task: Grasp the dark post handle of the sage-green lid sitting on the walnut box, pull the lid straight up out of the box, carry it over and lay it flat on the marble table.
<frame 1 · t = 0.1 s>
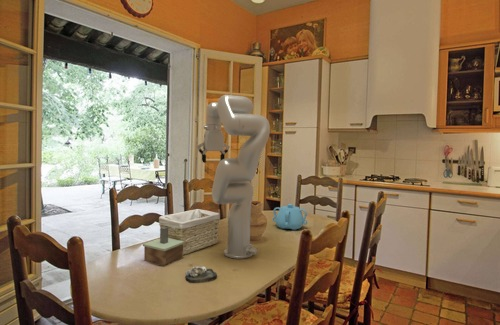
hand: (213, 162, 164), 37 cm above the table, tool pointing down, fingers open, 9 cm apart
storage basket: (189, 246, 146), on the table
box: (164, 259, 129), on the table
lid: (164, 244, 128), point 6 cm above the table, touching box
grey oval ornament: (201, 278, 113), on the table
decorative pot: (289, 228, 182), on the table
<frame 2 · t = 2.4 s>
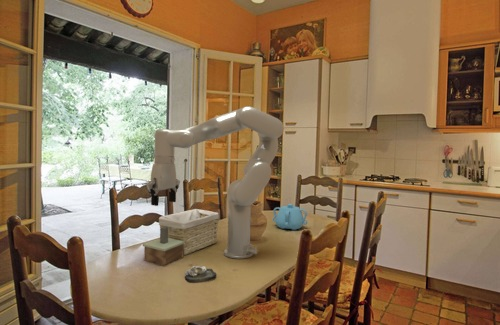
hand: (163, 203, 127), 23 cm above the table, tool pointing down, fingers open, 9 cm apart
nothing on the table moved.
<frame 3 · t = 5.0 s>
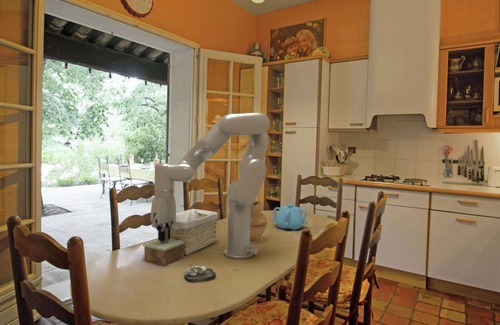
hand: (164, 239, 128), 8 cm above the table, tool pointing down, fingers closed on lid
lid: (164, 244, 128), point 6 cm above the table, touching gripper
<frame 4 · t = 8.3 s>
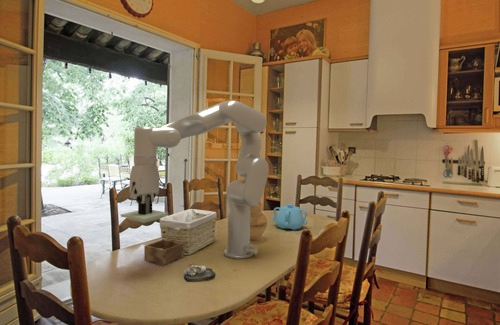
hand: (145, 213, 114), 22 cm above the table, tool pointing down, fingers closed on lid
lid: (144, 215, 114), point 21 cm above the table, touching gripper
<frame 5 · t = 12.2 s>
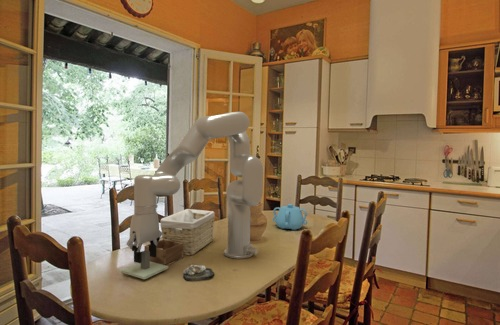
hand: (145, 258, 115), 5 cm above the table, tool pointing down, fingers open, 6 cm apart
lid: (145, 270, 115), point 1 cm above the table
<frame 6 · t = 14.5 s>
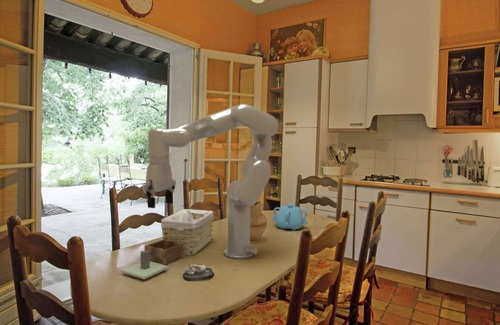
hand: (160, 205, 123), 23 cm above the table, tool pointing down, fingers open, 9 cm apart
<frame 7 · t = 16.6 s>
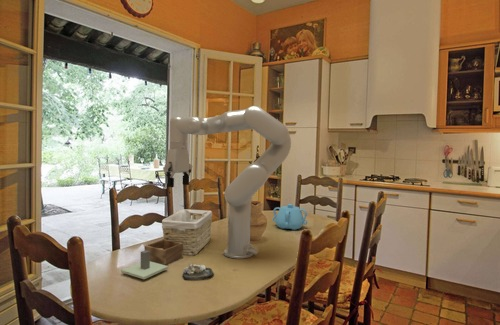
hand: (178, 185, 139), 28 cm above the table, tool pointing down, fingers open, 9 cm apart
at the end: lid inside the target area (0.1 cm from its centre), point 0.9 cm above the table; lid tilted 0°; lid touching table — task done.
